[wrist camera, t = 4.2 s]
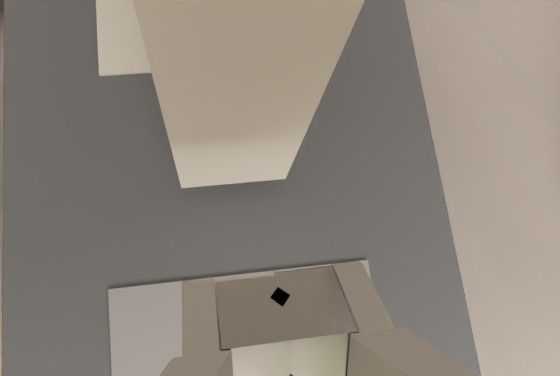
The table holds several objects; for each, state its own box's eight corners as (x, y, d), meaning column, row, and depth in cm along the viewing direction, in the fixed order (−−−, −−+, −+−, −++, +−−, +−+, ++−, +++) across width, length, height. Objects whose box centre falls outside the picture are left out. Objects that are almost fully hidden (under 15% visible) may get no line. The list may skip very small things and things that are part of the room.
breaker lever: (299, 190, 16) (557, -253, 4) (168, 202, 16) (-13, -272, 3) (289, 118, 17) (486, -465, 5) (163, 127, 16) (-10, -511, 4)
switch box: (419, 404, 22) (494, 431, 16) (64, 459, 20) (-1, 513, 14) (351, 17, 26) (390, -74, 20) (55, 31, 24) (3, -65, 18)
